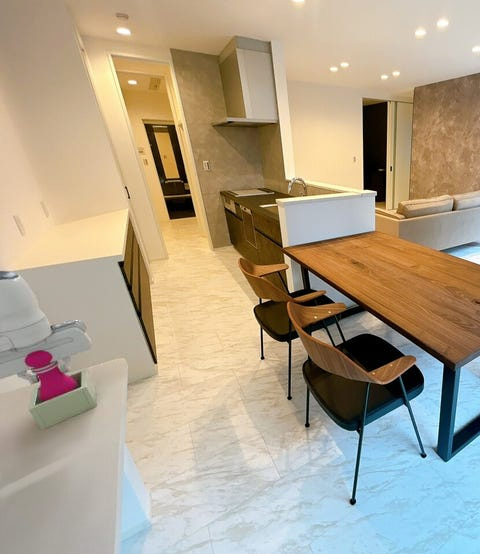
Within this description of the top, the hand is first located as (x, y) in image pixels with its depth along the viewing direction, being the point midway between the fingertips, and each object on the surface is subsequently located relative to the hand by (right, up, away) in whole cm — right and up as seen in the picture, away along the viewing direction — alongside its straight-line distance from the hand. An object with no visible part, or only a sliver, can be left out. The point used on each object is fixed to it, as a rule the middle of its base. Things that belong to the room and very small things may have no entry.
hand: (51, 376), depth 80 cm
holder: (+1, -10, +4) cm, 11 cm away
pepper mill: (0, -9, +4) cm, 9 cm away
